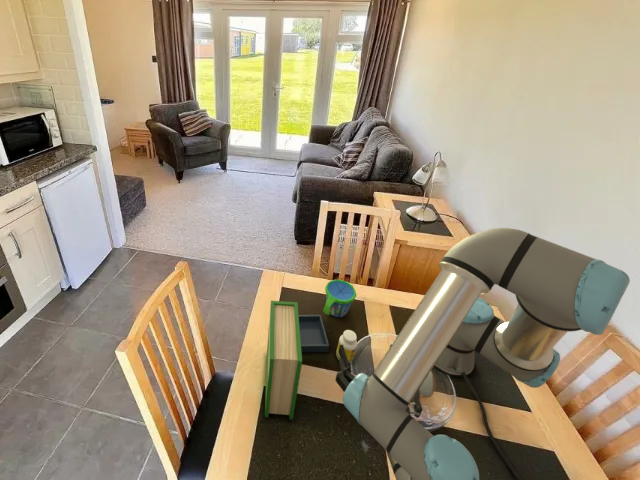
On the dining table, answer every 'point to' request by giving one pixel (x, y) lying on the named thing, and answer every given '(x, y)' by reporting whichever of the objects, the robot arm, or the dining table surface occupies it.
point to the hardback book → (283, 359)
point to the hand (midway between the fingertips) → (365, 347)
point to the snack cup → (338, 297)
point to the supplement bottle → (348, 344)
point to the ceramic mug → (428, 386)
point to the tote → (312, 334)
